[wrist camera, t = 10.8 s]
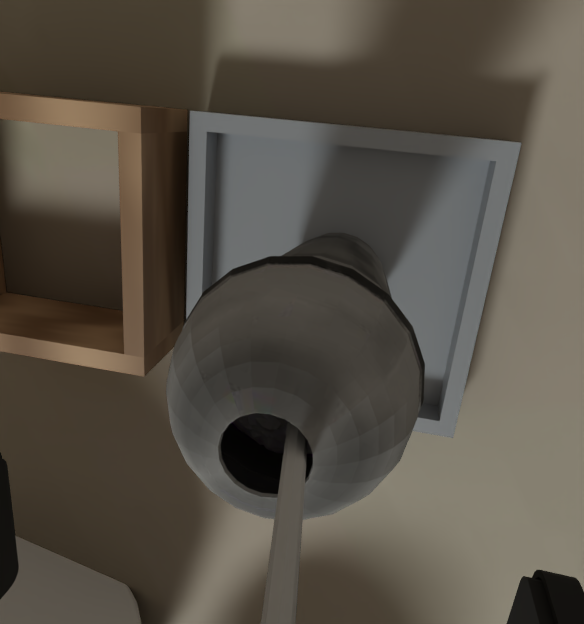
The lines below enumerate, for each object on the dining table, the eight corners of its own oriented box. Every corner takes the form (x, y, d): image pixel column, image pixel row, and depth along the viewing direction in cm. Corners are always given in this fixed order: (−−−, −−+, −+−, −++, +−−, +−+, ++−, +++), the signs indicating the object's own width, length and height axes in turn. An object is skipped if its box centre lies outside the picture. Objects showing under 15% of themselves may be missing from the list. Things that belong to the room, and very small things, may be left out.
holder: (187, 109, 25) (140, 107, 21) (183, 337, 30) (144, 376, 25) (-34, 88, 27) (-123, 81, 22) (-7, 305, 31) (-77, 337, 27)
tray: (510, 140, 23) (521, 142, 21) (448, 414, 28) (453, 437, 26) (207, 111, 25) (189, 110, 23) (199, 371, 30) (184, 390, 28)
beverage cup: (272, 192, 25) (-77, 361, 7) (426, 214, 24) (533, 481, 6) (258, 333, 28) (-23, 746, 9) (397, 357, 27) (406, 877, 8)
